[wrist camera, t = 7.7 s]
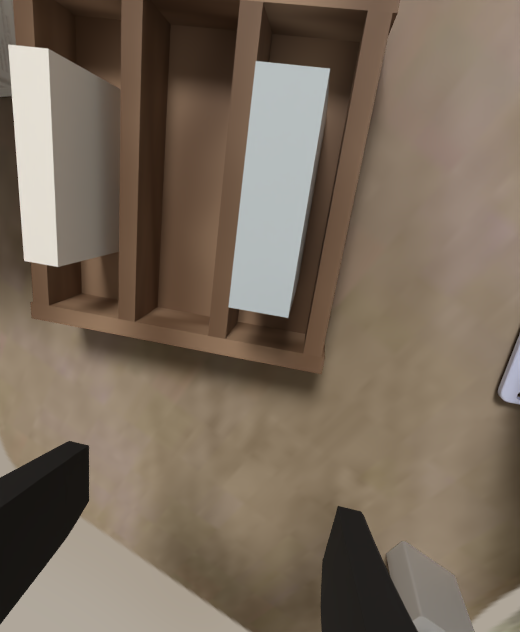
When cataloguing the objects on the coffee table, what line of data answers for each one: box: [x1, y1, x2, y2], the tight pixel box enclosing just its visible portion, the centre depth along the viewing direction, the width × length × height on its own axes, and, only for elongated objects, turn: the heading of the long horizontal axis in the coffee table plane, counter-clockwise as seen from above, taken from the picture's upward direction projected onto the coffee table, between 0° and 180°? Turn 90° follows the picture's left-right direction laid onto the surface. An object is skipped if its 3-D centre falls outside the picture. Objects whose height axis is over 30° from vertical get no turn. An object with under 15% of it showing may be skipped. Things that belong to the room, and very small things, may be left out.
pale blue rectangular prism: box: [228, 61, 330, 318], centre depth 14 cm, size 2×7×6 cm, turn 173°
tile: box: [8, 45, 121, 267], centre depth 15 cm, size 1×7×5 cm, turn 173°
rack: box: [13, 0, 400, 374], centre depth 16 cm, size 14×14×4 cm
